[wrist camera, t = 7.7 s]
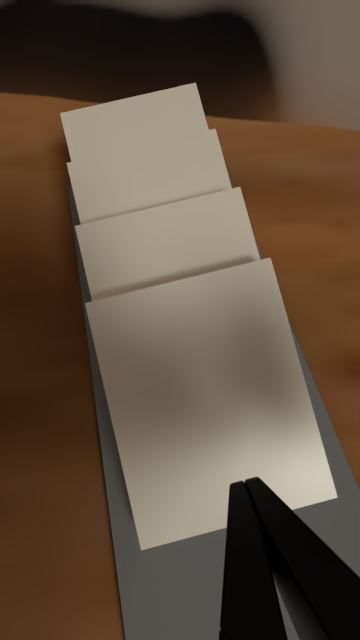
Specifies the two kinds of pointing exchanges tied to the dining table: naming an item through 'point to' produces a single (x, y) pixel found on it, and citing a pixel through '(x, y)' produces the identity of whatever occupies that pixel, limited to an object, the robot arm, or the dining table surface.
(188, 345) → the tile
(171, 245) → the tile
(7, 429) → the dining table surface
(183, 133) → the tile
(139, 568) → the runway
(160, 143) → the tile
